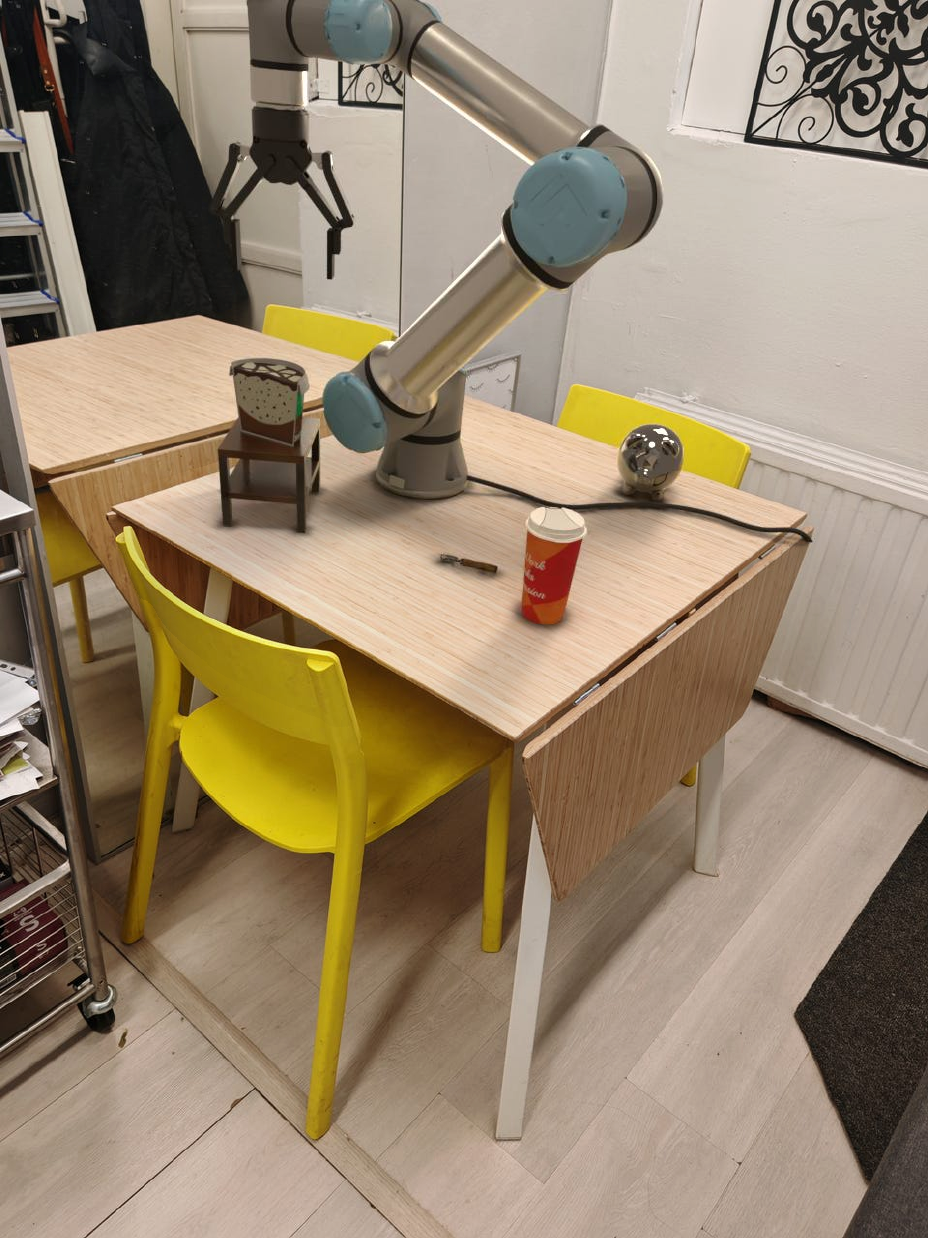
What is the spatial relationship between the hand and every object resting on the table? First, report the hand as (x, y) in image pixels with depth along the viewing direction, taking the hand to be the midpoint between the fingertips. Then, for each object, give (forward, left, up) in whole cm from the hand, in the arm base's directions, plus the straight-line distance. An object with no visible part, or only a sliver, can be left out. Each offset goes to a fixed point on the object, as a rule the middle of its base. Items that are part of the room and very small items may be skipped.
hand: (283, 273), depth 131 cm
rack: (0, +12, -32) cm, 34 cm away
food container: (-1, +12, -20) cm, 23 cm away
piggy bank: (-60, -5, -32) cm, 68 cm away
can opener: (-30, +26, -32) cm, 51 cm away
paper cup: (-40, +37, -32) cm, 63 cm away
